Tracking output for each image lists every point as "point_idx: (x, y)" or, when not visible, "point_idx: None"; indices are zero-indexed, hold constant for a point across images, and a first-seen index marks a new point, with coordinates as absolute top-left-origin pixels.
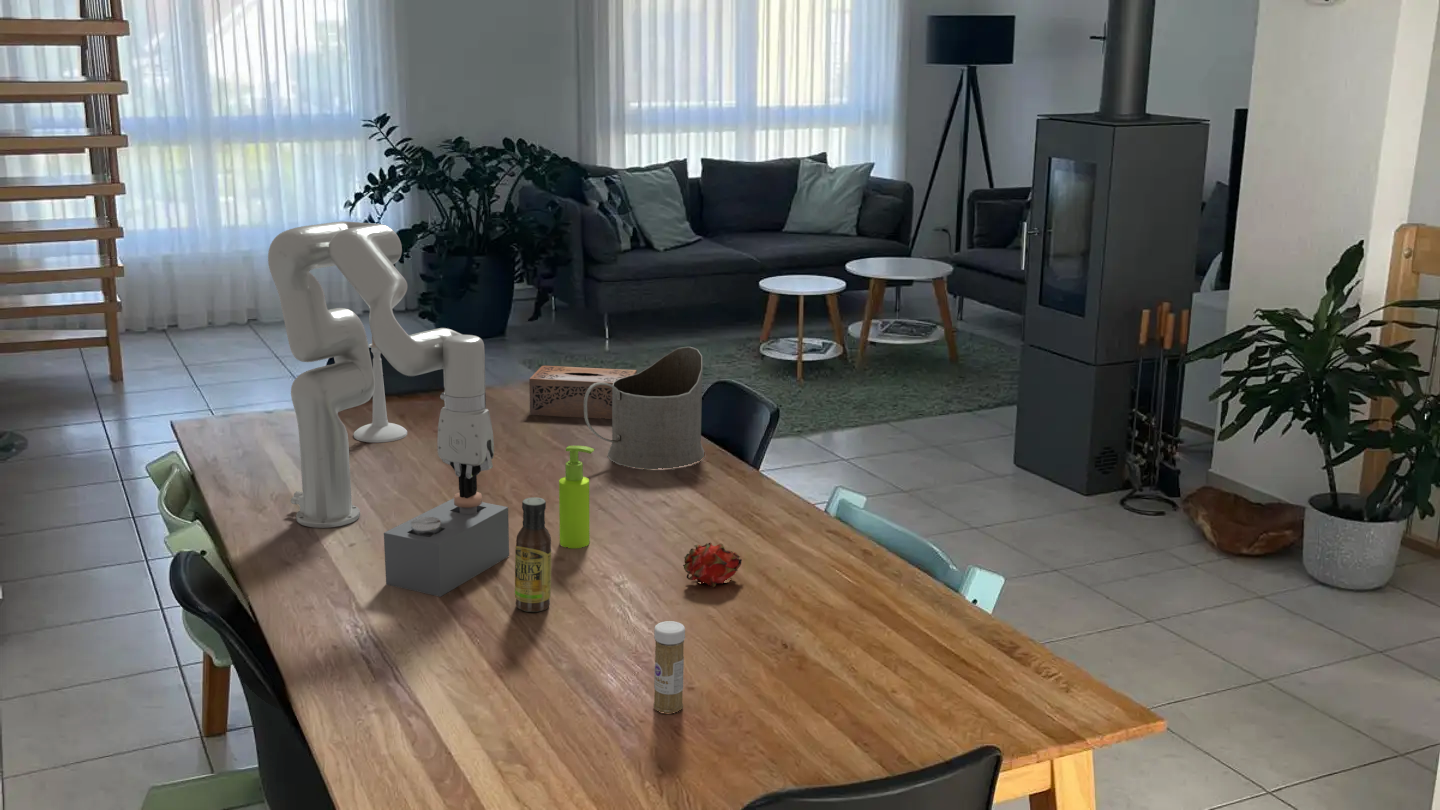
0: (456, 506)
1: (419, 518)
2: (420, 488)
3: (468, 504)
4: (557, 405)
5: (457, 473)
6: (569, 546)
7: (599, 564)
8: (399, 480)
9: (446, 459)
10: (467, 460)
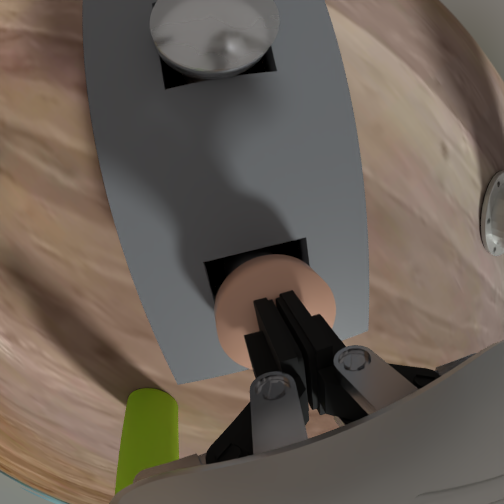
0: None
1: (269, 26)
2: (459, 354)
3: (229, 282)
4: None
5: (359, 358)
6: (137, 391)
7: (53, 368)
8: (480, 346)
9: (477, 360)
10: (255, 493)
